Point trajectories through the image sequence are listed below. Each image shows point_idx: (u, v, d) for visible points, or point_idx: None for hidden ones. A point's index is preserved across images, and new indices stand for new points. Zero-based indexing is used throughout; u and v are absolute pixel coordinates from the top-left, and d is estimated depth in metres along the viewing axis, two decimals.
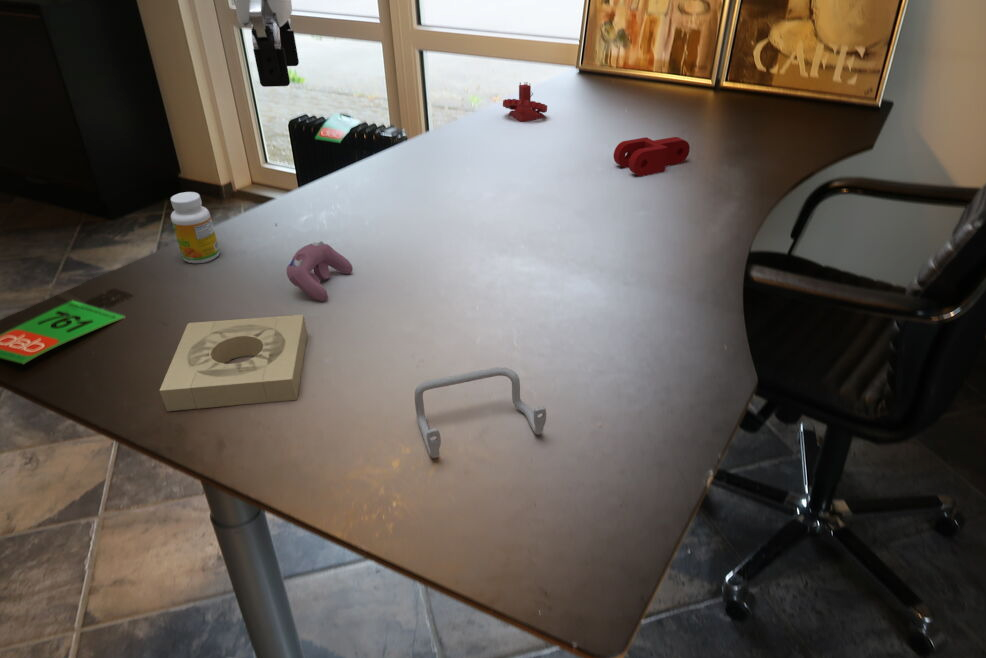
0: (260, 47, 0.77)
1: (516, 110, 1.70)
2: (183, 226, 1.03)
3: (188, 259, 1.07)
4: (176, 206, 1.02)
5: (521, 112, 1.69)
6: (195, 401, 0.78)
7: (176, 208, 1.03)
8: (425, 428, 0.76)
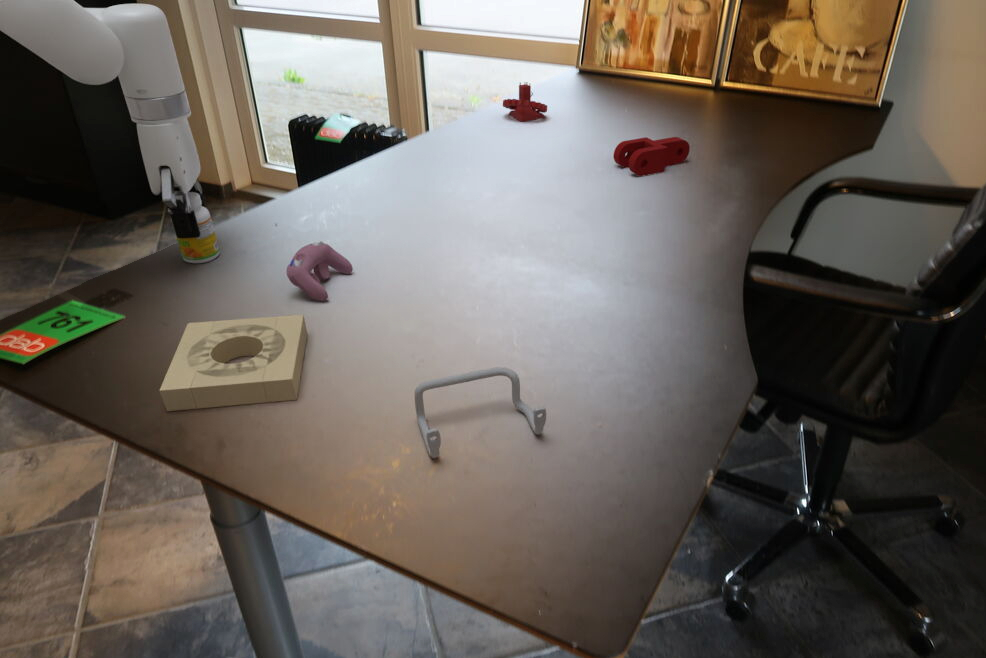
0: (174, 213, 1.00)
1: (516, 110, 1.70)
2: None
3: (188, 259, 1.07)
4: None
5: (521, 112, 1.69)
6: (195, 401, 0.78)
7: None
8: (425, 428, 0.76)
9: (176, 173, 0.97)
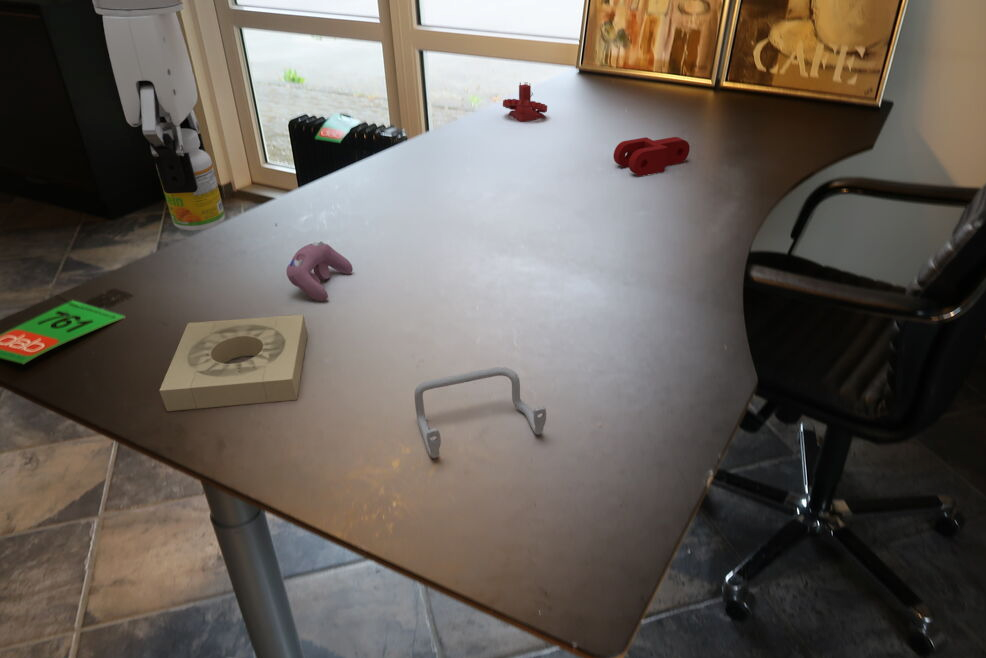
0: (160, 155, 0.69)
1: (516, 110, 1.70)
2: None
3: (181, 224, 0.76)
4: None
5: (521, 112, 1.69)
6: (195, 401, 0.78)
7: None
8: (425, 428, 0.76)
9: (162, 93, 0.66)
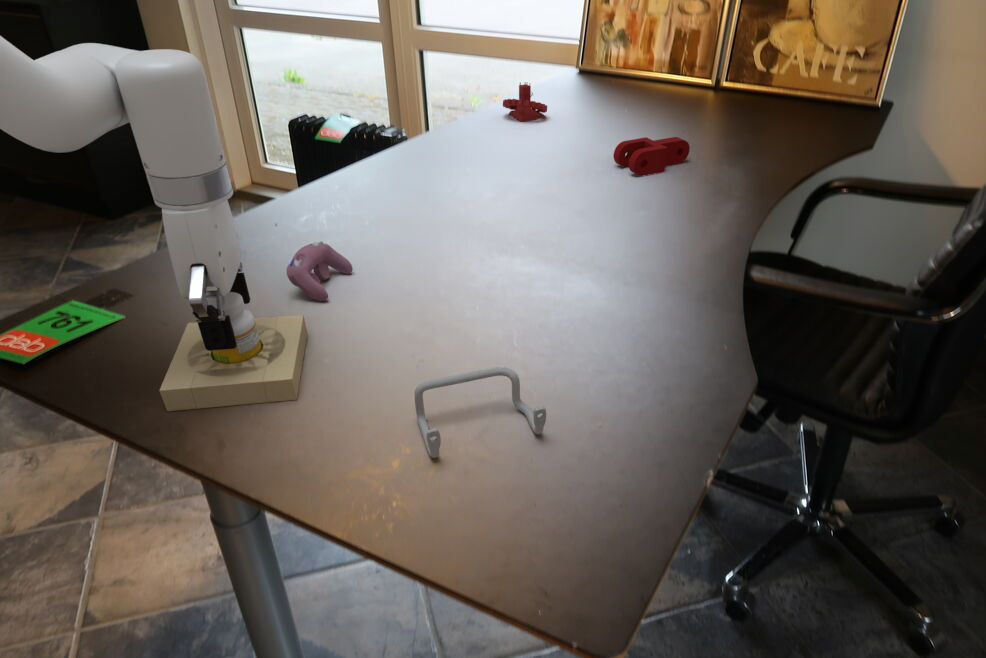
0: (203, 321, 0.74)
1: (516, 110, 1.70)
2: None
3: None
4: None
5: (521, 112, 1.69)
6: (195, 401, 0.78)
7: None
8: (425, 428, 0.76)
9: (214, 272, 0.72)
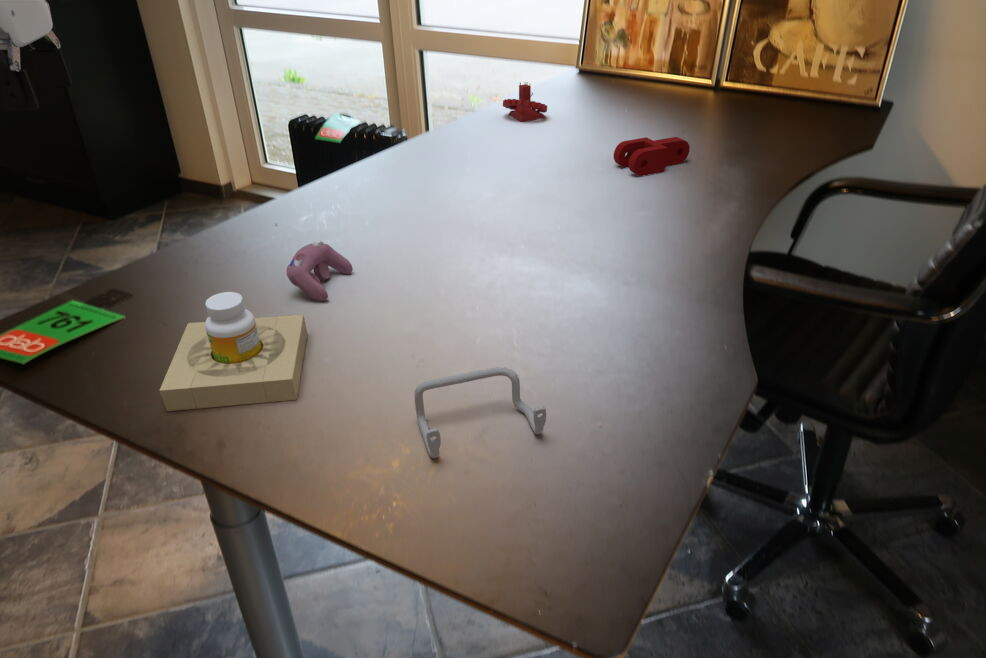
0: None
1: (516, 110, 1.70)
2: (221, 338, 0.79)
3: None
4: (213, 314, 0.78)
5: (521, 112, 1.69)
6: (195, 401, 0.78)
7: (213, 316, 0.79)
8: (425, 428, 0.76)
9: None
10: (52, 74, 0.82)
